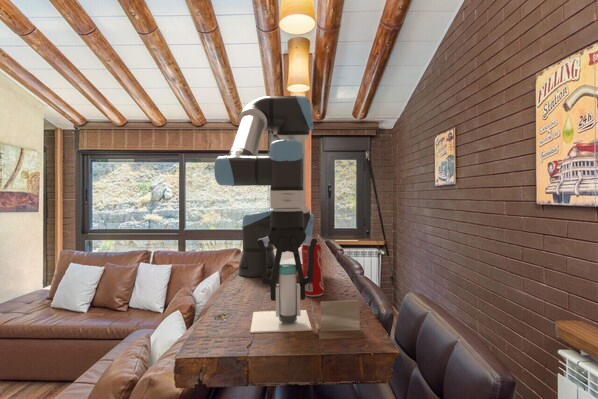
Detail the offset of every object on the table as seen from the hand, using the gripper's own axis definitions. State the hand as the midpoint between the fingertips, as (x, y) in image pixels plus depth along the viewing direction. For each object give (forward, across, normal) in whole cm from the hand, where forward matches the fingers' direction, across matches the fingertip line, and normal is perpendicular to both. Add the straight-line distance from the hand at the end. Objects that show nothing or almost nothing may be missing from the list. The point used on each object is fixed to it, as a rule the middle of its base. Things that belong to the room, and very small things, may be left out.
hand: (287, 314), depth 74 cm
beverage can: (+2, +8, +22) cm, 24 cm away
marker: (+1, 0, 0) cm, 1 cm away
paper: (+2, -2, +2) cm, 3 cm away
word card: (+2, +10, -7) cm, 13 cm away
